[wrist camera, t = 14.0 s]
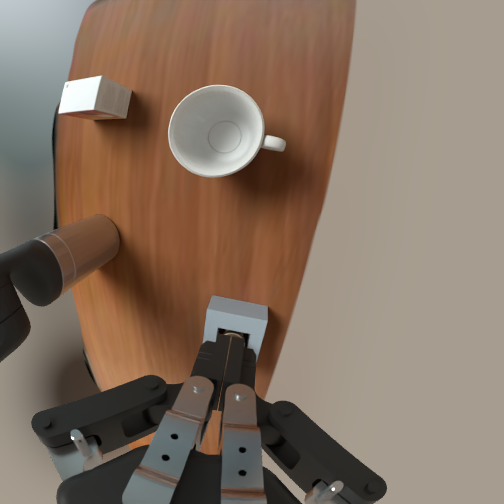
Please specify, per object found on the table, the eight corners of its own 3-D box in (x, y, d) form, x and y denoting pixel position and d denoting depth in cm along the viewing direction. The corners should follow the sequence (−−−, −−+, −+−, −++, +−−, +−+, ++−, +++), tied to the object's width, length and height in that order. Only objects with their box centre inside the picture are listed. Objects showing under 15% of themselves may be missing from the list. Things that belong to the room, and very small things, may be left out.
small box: (92, 120, 39) (56, 114, 29) (98, 92, 37) (64, 81, 27) (127, 119, 39) (93, 110, 29) (133, 89, 37) (101, 74, 27)
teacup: (272, 187, 42) (274, 193, 32) (181, 167, 41) (158, 168, 32) (290, 115, 38) (298, 100, 28) (199, 97, 38) (180, 79, 28)
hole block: (254, 356, 52) (253, 372, 47) (205, 346, 52) (200, 362, 47) (267, 306, 48) (267, 320, 43) (212, 295, 48) (207, 308, 43)
